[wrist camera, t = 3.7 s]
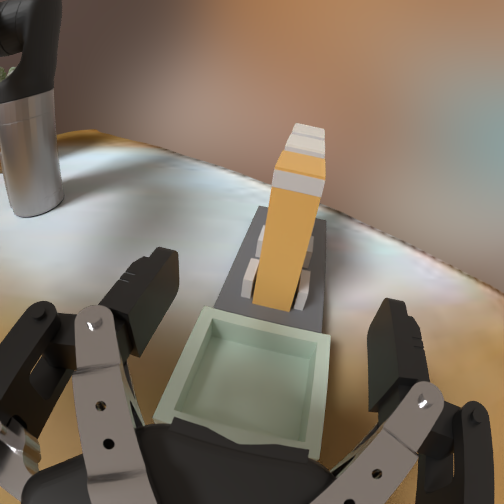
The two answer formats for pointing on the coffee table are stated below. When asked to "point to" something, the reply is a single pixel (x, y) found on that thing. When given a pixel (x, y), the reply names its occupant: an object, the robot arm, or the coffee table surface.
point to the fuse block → (308, 288)
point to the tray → (251, 381)
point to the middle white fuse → (305, 146)
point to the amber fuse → (288, 227)
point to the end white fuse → (308, 131)
